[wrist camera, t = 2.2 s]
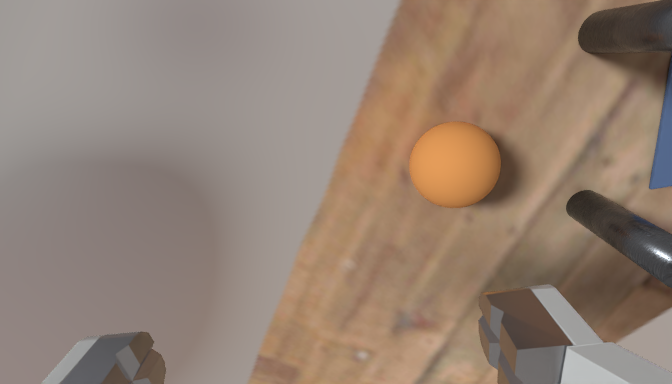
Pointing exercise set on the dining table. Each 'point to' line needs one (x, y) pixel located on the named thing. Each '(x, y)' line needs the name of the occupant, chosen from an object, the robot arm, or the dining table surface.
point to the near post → (629, 29)
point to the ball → (455, 164)
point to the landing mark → (664, 142)
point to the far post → (625, 232)
